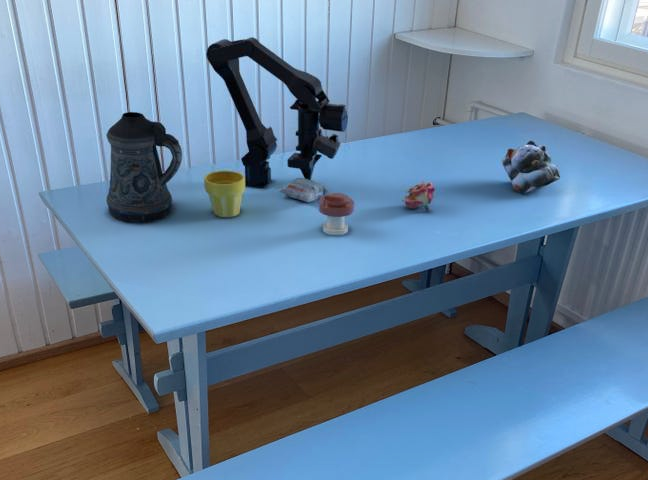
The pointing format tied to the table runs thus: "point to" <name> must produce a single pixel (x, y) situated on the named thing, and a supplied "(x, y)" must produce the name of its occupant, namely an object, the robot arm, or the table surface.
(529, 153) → the lucky cat figurine
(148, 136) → the beer stein
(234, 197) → the flower pot
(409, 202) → the flower
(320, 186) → the packaged food
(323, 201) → the mushroom
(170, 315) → the table surface
